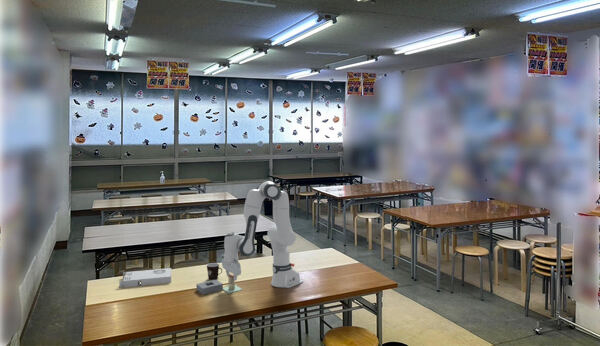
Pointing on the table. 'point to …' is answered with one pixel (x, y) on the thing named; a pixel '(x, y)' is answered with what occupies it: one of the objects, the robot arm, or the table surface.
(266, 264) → the table surface
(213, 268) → the coffee mug
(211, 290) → the gray rectangular block
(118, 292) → the table surface
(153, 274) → the power supply unit
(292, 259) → the table surface
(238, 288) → the mat
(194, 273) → the table surface
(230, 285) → the plug
